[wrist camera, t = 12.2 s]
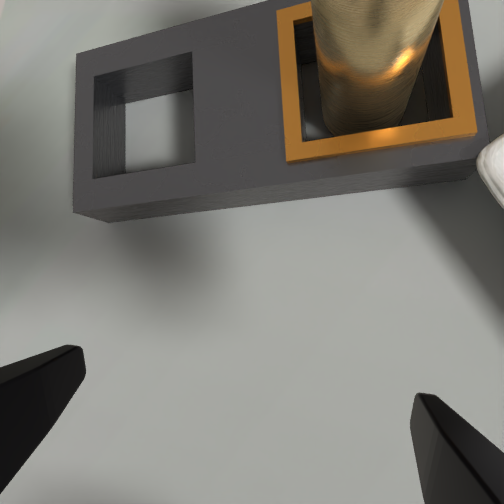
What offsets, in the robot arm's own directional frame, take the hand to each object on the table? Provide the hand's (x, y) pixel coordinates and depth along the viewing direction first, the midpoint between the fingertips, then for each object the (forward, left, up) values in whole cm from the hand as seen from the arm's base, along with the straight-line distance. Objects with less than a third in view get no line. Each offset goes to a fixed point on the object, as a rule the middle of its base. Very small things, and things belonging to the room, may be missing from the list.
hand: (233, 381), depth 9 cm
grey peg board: (+3, -12, -10) cm, 16 cm away
